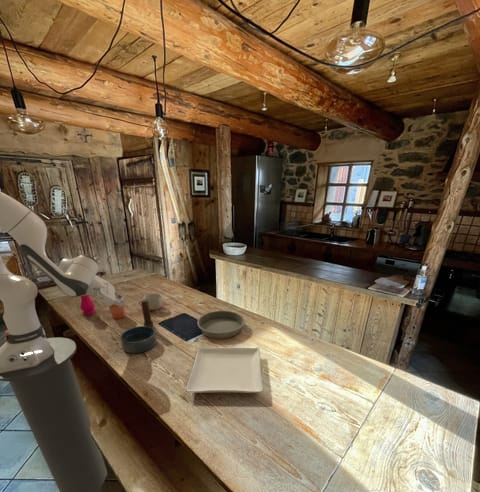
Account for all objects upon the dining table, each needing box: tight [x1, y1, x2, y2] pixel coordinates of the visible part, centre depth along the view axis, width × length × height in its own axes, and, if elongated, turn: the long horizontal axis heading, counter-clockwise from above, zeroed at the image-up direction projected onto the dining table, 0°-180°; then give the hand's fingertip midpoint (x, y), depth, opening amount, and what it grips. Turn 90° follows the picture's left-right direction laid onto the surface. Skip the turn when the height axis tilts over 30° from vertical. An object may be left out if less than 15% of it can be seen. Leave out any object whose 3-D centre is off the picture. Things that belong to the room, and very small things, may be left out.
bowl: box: [119, 325, 157, 354], centre depth 124 cm, size 15×15×6 cm
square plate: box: [185, 347, 264, 394], centre depth 105 cm, size 27×27×4 cm
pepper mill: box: [80, 293, 96, 317], centre depth 154 cm, size 7×7×20 cm
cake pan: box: [196, 310, 246, 339], centre depth 139 cm, size 25×25×4 cm
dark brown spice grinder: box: [140, 298, 155, 329], centre depth 137 cm, size 5×5×16 cm
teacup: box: [138, 292, 163, 311], centre depth 161 cm, size 14×11×8 cm
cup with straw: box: [108, 296, 125, 320], centre depth 150 cm, size 9×9×18 cm
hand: (121, 301), depth 129 cm, fingers open, 8 cm apart
